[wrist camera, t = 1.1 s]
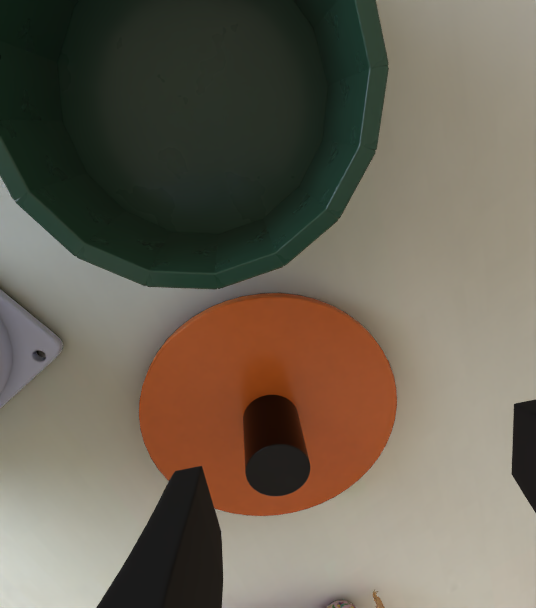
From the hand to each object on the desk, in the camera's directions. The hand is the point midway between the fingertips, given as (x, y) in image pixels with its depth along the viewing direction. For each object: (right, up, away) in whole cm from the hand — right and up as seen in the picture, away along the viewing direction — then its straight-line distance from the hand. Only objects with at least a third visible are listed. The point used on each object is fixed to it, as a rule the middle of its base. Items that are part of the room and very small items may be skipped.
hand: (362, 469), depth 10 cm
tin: (-5, +11, +6) cm, 13 cm away
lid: (-2, -1, +10) cm, 10 cm away
